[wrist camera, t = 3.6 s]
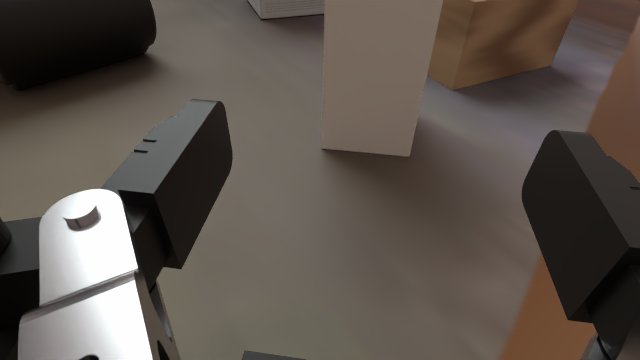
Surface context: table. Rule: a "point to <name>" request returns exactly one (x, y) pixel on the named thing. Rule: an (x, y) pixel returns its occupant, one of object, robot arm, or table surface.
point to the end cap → (69, 37)
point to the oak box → (496, 38)
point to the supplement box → (287, 8)
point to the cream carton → (375, 72)
